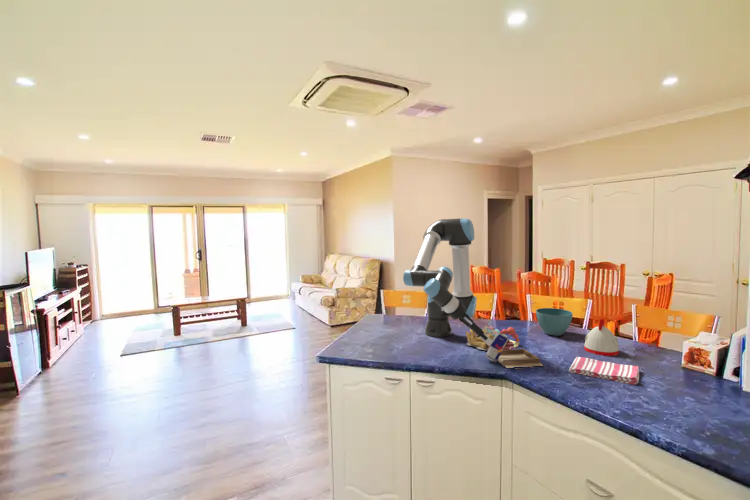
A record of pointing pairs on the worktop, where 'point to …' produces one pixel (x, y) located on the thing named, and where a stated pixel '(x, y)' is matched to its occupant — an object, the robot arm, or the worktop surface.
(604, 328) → the white red-trimmed dome
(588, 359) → the dish towel
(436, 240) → the robot arm
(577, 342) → the worktop surface
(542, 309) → the teal bowl
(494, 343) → the energy drink
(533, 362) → the brown flat tray
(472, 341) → the food platter
